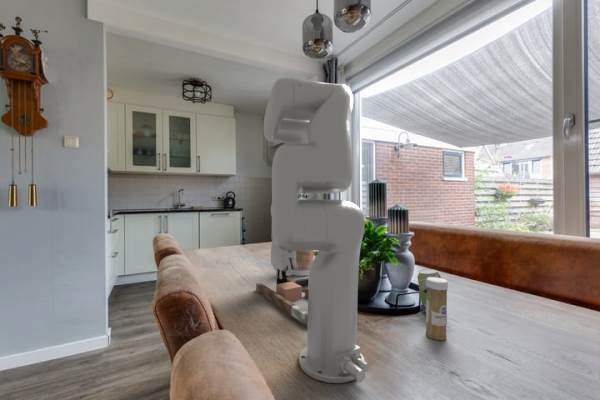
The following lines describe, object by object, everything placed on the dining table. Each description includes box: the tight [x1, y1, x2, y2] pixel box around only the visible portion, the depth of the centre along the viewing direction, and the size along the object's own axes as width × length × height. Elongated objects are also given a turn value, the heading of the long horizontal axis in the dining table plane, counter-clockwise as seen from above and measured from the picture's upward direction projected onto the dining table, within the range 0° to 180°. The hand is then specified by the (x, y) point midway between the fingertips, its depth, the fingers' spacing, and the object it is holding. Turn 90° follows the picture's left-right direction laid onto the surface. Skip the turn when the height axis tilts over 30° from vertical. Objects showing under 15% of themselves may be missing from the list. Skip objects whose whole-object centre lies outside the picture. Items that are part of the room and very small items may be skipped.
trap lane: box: [255, 277, 309, 328], centre depth 89 cm, size 32×22×3 cm
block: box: [275, 282, 303, 302], centre depth 90 cm, size 6×6×4 cm
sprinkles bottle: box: [425, 277, 449, 341], centre depth 66 cm, size 5×5×14 cm
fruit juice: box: [291, 250, 314, 277], centre depth 119 cm, size 9×9×28 cm
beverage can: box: [417, 269, 442, 313], centre depth 80 cm, size 6×7×12 cm
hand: (281, 289), depth 95 cm, fingers closed
